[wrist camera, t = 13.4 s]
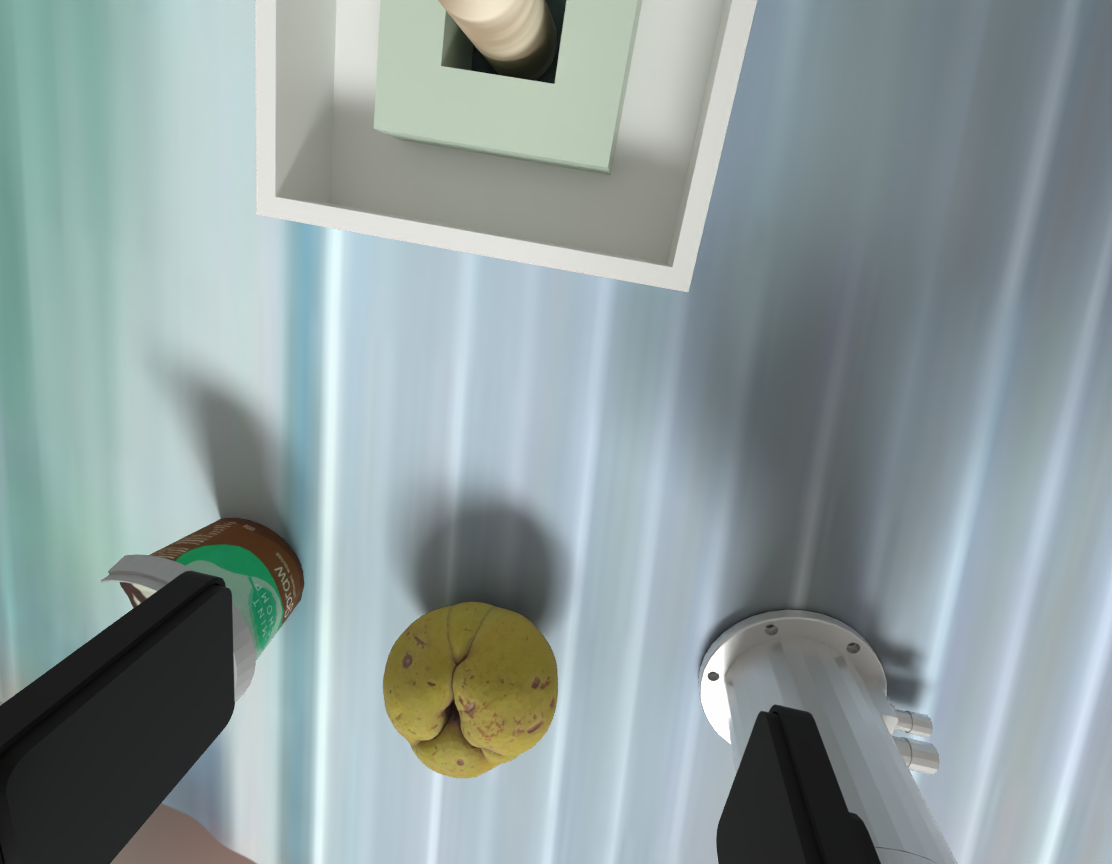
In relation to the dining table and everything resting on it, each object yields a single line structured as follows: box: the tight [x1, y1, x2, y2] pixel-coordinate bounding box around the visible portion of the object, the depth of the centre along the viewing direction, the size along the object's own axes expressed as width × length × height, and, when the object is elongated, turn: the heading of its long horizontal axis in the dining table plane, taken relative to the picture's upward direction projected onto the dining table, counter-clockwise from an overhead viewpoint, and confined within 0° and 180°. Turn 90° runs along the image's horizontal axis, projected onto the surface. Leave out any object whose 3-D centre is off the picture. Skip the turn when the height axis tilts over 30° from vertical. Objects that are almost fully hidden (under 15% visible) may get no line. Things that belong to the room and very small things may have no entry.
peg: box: [438, 0, 557, 81], centre depth 27 cm, size 4×4×10 cm
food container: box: [101, 518, 304, 702], centre depth 40 cm, size 12×6×10 cm, turn 14°
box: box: [255, 0, 757, 292], centre depth 28 cm, size 22×22×7 cm
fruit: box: [383, 602, 558, 778], centre depth 40 cm, size 11×12×10 cm
